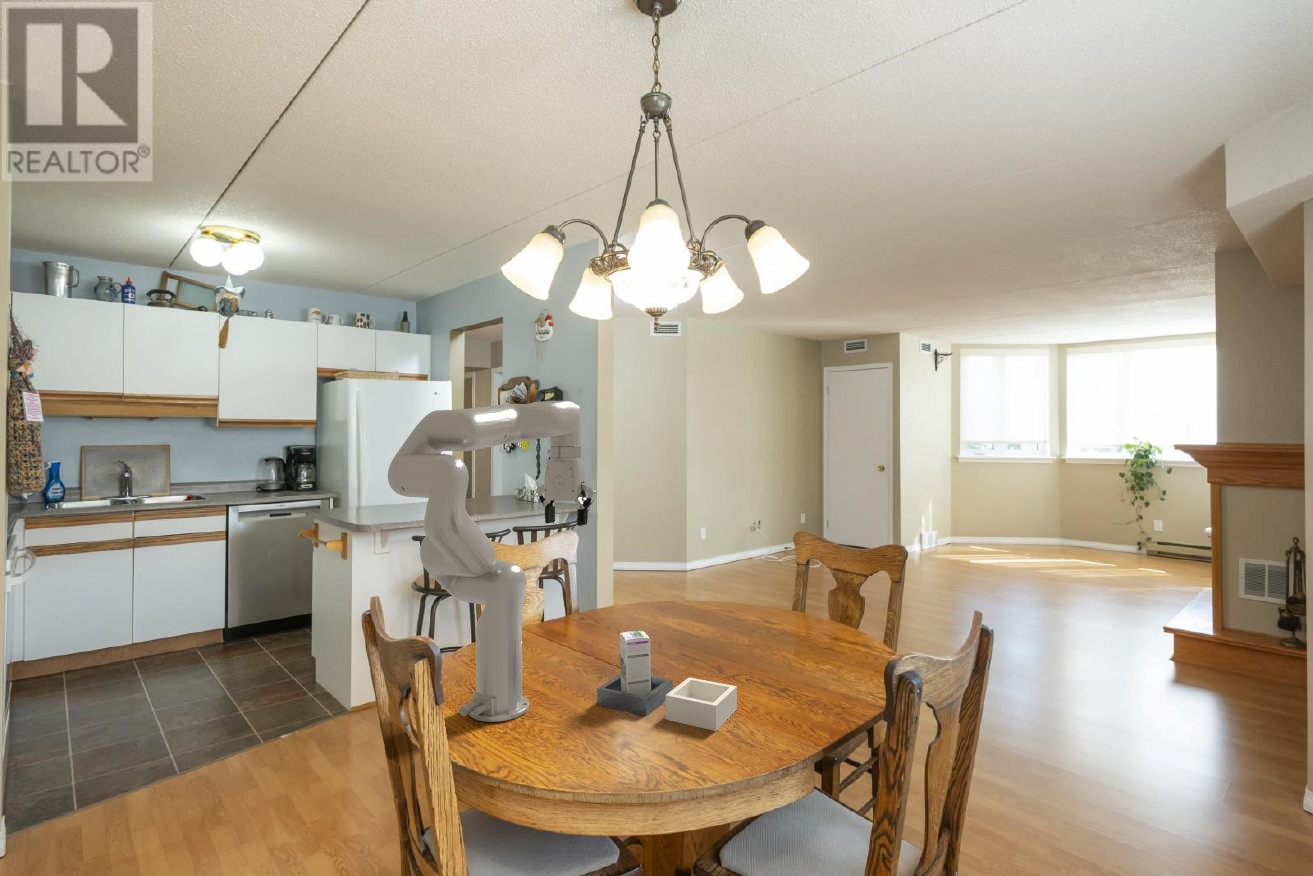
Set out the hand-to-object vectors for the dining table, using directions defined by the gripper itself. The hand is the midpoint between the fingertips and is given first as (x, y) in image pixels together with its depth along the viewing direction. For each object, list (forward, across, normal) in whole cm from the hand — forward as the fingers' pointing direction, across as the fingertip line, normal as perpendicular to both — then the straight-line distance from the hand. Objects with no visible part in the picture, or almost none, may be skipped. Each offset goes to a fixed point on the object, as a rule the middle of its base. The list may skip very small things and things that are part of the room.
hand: (565, 523), depth 158 cm
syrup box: (+37, +23, -6) cm, 44 cm away
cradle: (+37, +39, -6) cm, 54 cm away
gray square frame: (+37, +23, -6) cm, 44 cm away
